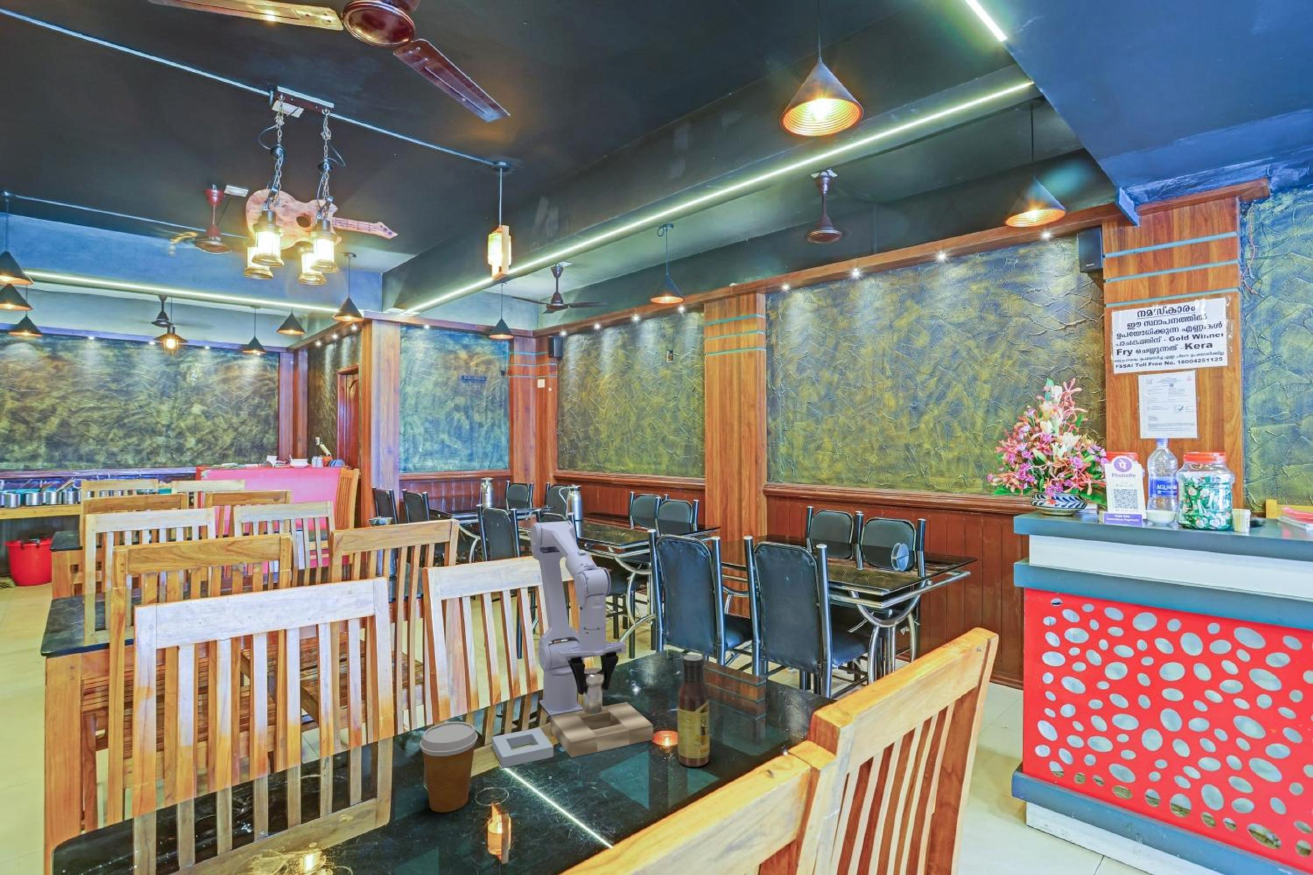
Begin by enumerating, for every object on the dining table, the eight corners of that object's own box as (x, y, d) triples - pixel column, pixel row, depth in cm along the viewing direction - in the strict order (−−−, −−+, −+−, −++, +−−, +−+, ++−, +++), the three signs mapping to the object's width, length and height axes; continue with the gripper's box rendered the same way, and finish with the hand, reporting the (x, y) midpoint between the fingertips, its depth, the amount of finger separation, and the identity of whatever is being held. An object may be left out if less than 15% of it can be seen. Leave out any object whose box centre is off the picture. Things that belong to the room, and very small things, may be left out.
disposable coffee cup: (474, 783, 115) (475, 717, 116) (480, 810, 106) (480, 738, 107) (419, 794, 112) (419, 725, 112) (419, 823, 103) (420, 748, 103)
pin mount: (491, 746, 130) (491, 736, 130) (539, 736, 135) (539, 727, 135) (502, 767, 121) (502, 757, 121) (553, 756, 126) (553, 746, 126)
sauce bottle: (707, 770, 120) (706, 663, 120) (675, 767, 121) (674, 662, 122) (711, 754, 126) (710, 653, 127) (680, 751, 127) (679, 651, 128)
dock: (550, 730, 138) (550, 716, 138) (626, 715, 146) (626, 701, 146) (571, 757, 125) (571, 742, 125) (653, 739, 133) (653, 724, 133)
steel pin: (577, 707, 136) (578, 669, 136) (599, 703, 138) (599, 666, 138) (585, 716, 131) (585, 676, 132) (607, 712, 133) (608, 673, 134)
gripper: (565, 635, 129) (565, 703, 128) (631, 626, 135) (631, 691, 134) (555, 627, 135) (555, 691, 134) (618, 619, 141) (619, 680, 141)
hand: (592, 690), depth 135 cm, fingers closed on steel pin, 5 cm apart
